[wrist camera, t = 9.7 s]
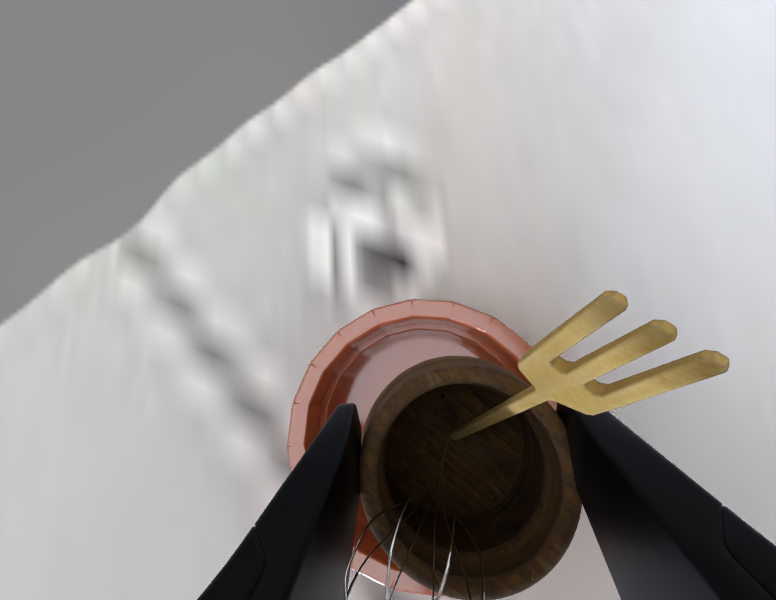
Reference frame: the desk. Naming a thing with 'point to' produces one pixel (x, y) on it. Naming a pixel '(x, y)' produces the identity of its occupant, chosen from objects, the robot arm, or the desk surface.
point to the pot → (378, 368)
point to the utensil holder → (497, 455)
